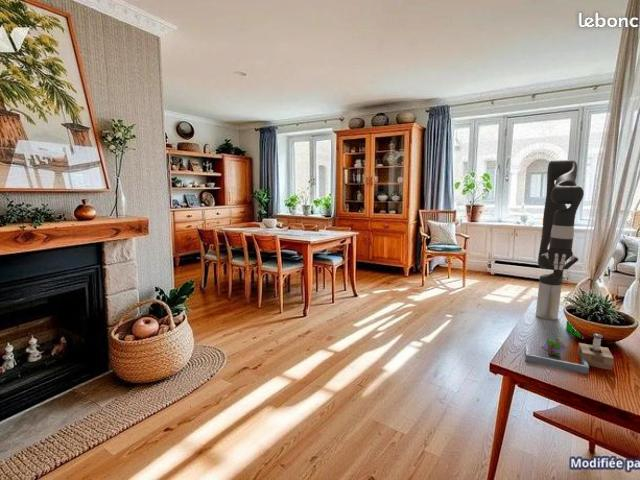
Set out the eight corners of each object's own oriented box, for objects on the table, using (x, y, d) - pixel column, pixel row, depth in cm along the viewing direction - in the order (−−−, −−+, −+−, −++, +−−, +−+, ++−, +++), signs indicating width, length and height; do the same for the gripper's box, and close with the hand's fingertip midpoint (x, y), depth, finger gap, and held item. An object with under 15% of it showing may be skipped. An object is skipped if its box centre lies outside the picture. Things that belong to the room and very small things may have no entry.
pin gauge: (588, 359, 135) (592, 332, 133) (598, 360, 134) (601, 334, 132) (590, 362, 132) (594, 335, 131) (599, 364, 131) (603, 337, 129)
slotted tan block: (577, 353, 139) (578, 342, 138) (606, 359, 135) (607, 347, 134) (581, 364, 131) (582, 352, 130) (612, 370, 127) (613, 358, 126)
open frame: (524, 349, 143) (525, 343, 142) (582, 360, 134) (583, 354, 133) (525, 361, 133) (526, 354, 133) (588, 373, 125) (589, 367, 124)
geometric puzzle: (556, 357, 132) (564, 338, 133) (537, 350, 137) (544, 331, 139) (562, 363, 136) (569, 344, 137) (542, 356, 141) (550, 338, 143)
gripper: (580, 236, 143) (575, 278, 146) (541, 234, 149) (537, 274, 152) (583, 239, 136) (578, 283, 139) (543, 236, 142) (538, 278, 145)
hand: (556, 278), depth 146 cm, fingers closed
